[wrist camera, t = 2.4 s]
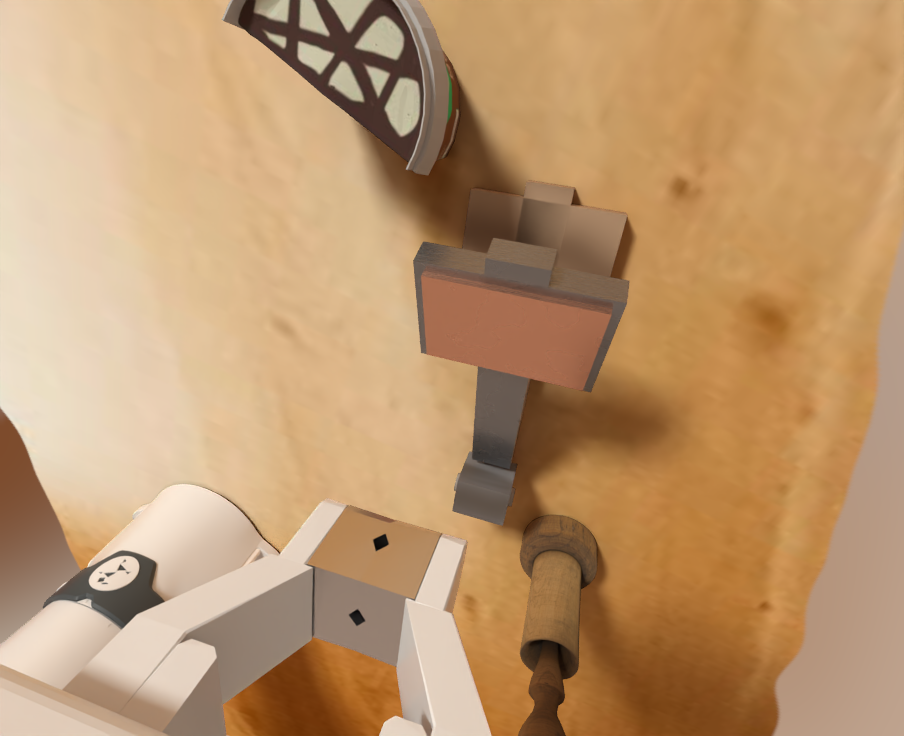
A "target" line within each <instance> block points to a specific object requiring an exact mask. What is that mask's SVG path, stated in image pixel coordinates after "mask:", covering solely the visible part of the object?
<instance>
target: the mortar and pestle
mask: <svg viewBox="0 0 904 736" xmlns="http://www.w3.org/2000/svg"><path fill="white" fill-rule="evenodd" d="M520 561H521V565H522V567H523V569H524V571H525V572H526V574H527V575H528V576H529V577H530V578H531V586H530V593H529V599H528V606H527V612H526V619H525V625H524V631H523V637H522V643H521V649H520V656H521V659H522V661H523V663H524V664H525V665H526V666H527V667H528V668H529V669H530V670H531V671H533V672H534V673H533V676H532V678H531V681H530V685H529V694H530V696H531V697H532V699H533V700H534V701H535V706H534V709H533V712H532V713H531V714H530V716H529V717H528V718H527V720H526V721H525V723H524V724H523V726H522V727H521V729H520V731H519V734H518V736H566V735H565V733H564V730H563V728H562V726H561V723H560V721H559V719H558V717H557V709H558V705H560V704H562V703H563V701H564V698H565V694H564V686H563V680H562V679H567V678H570V677H572V676H573V675H574V674H575V673H576V672H577V670H578V666H579V620H580V595H581V589H582V588H584V587H586V586H587V585H588V584H590V583H591V582H592V580H593V579H594V577H595V575H596V572H597V545H596V542H595V539H594V537H593V535H592V534H591V532H590V531H589V530H588V529H587V528H586V527H585V526H584V525H582V524H581V523H579V522H578V521H576V520H574V519H571V518H569V517H565V516H559V515H548V516H542V517H539V518H537V519H535V520H533V521H532V522H531V523H530V524H529V525H528V526H527V528H526V530H525V532H524V535H523V540H522V546H521V551H520Z"/></svg>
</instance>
